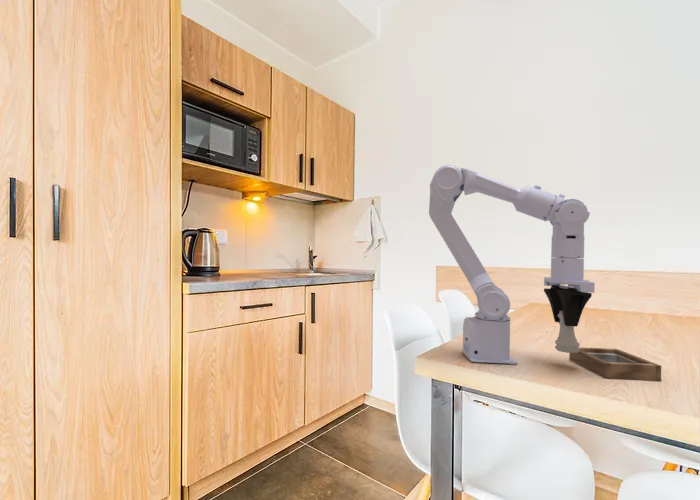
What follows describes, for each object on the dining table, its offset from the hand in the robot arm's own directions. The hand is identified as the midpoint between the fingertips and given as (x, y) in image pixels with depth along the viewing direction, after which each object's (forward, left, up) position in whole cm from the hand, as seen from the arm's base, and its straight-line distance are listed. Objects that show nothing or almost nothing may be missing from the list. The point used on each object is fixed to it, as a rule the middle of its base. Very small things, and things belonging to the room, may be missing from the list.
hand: (565, 324), depth 70 cm
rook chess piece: (0, 0, -6) cm, 6 cm away
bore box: (+9, 0, -9) cm, 13 cm away
